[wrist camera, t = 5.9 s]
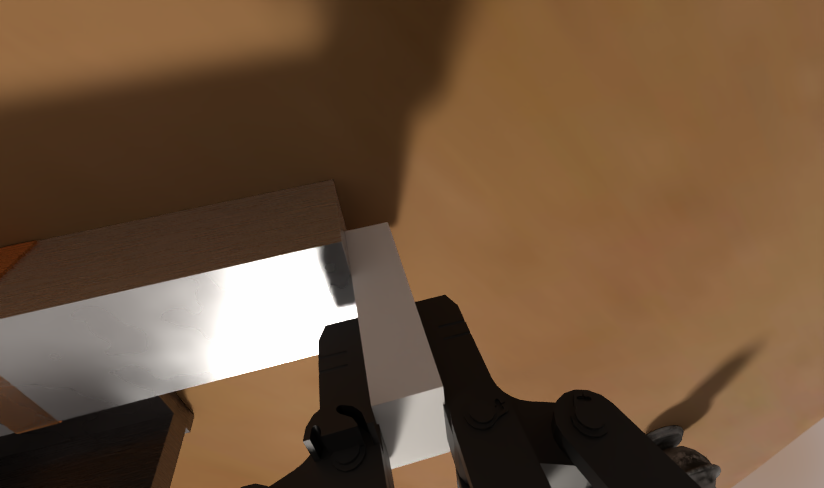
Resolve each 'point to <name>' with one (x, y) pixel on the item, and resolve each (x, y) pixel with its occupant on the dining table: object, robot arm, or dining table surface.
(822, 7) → the dining table surface
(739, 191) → the dining table surface
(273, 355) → the block
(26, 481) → the firebox back plate
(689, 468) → the grey rounded stepped piece
